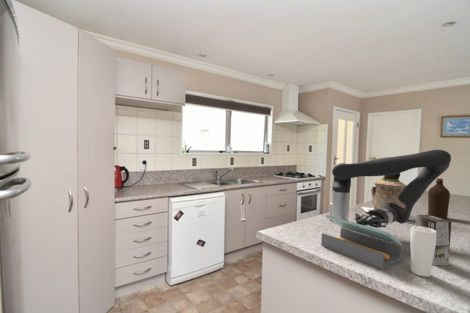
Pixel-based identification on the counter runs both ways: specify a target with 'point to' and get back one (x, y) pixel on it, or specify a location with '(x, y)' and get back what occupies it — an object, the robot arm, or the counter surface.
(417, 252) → the white tapered cylinder
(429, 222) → the coffee box
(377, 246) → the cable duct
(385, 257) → the wooden dowel rod
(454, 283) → the counter surface
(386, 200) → the cookie jar
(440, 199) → the olive oil
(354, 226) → the panel
